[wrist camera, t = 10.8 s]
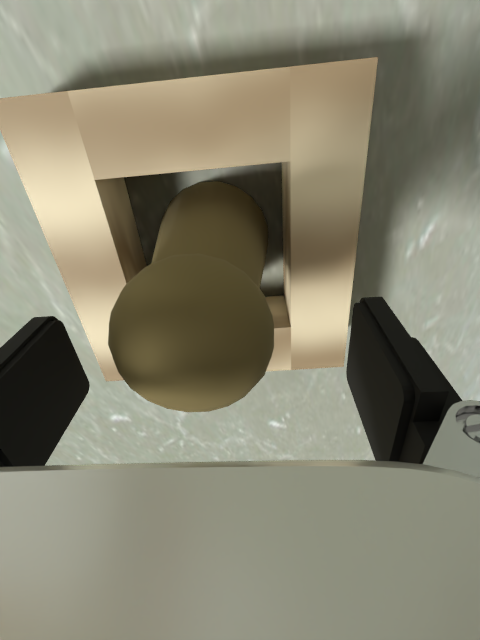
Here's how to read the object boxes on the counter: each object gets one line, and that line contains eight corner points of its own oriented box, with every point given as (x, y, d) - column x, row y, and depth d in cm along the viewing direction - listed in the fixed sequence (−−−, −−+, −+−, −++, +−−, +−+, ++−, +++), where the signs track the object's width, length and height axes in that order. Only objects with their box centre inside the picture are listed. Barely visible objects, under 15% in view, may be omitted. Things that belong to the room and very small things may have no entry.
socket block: (329, 331, 22) (343, 366, 19) (124, 345, 22) (106, 381, 20) (349, 67, 14) (378, 56, 11) (37, 101, 15) (-13, 99, 12)
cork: (287, 256, 19) (328, 399, 10) (200, 302, 21) (166, 460, 11) (232, 156, 16) (218, 224, 7) (137, 219, 18) (24, 340, 9)
